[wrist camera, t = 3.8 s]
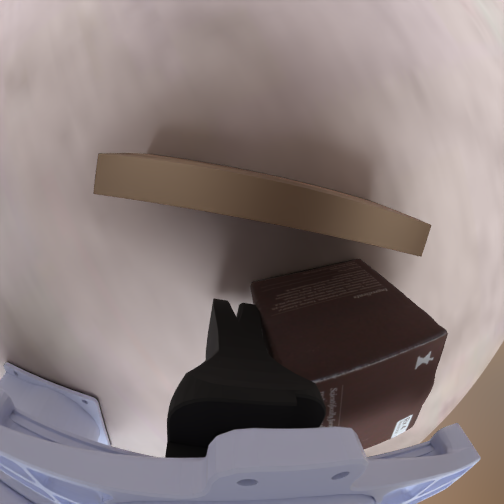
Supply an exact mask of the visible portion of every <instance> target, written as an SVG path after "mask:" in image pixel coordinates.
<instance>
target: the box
mask: <svg viewBox="0 0 504 504" xmlns="http://www.w3.org/2000/svg"><path fill="white" fill-rule="evenodd" d="M251 292H252V299H253V304H254V305H256V307H257V308H258V310H259V312H260V319H261V328H262V336H263V340H264V343H265V346H266V348H267V351H268V353H269V355H270V357H271V358H273V359H274V360H275V361H276V362H278V363H279V364H281V365H282V366H284V367H285V368H287V369H289V370H290V371H292V372H294V373H295V374H297V375H299V376H301V377H303V378H306V379H308V380H310V381H312V382H314V383H316V385H317V388H318V389H319V391H320V393H321V396H322V398H323V401H324V404H325V406H326V416H325V418H324V421H323V422H322V424H321V425H320V427H319V428H321V427H346V428H352V429H353V430H354V431H355V432H356V434H357V435H358V438H359V440H360V442H361V445H362V447H363V450H364V449H366V448H369V447H372V446H374V445H377V444H379V443H381V442H384V441H386V440H388V439H391V438H393V437H395V436H397V435H399V434H401V433H403V432H404V431H406V430H408V429H410V428H411V427H412V426H413V425H414V424H415V421H416V419H417V417H418V415H419V412H420V410H421V407H422V405H423V403H424V402H425V400H426V398H427V397H428V395H429V393H430V392H431V389H432V387H433V384H434V379H435V373H436V369H437V366H438V363H439V360H440V357H441V354H442V351H443V348H444V344H445V341H446V338H447V331H446V330H445V329H444V328H443V327H441V326H440V325H438V324H437V323H436V322H435V321H434V319H432V318H431V317H430V316H429V315H428V314H427V313H426V312H425V311H424V310H422V309H421V308H419V307H418V306H417V305H416V304H415V303H414V302H412V301H411V300H410V299H409V298H407V297H406V296H405V295H404V294H403V293H402V292H400V291H399V290H398V289H397V288H396V287H394V286H393V285H392V284H391V283H389V282H388V281H387V280H386V279H385V278H384V277H382V276H381V275H380V274H378V273H377V272H376V271H375V270H373V269H372V268H371V267H370V266H368V265H367V264H366V263H365V262H363V261H362V260H361V259H355V260H352V261H347V262H343V263H338V264H334V265H330V266H326V267H321V268H316V269H312V270H308V271H303V272H298V273H294V274H289V275H285V276H280V277H275V278H270V279H266V280H261V281H256V282H252V283H251Z"/></svg>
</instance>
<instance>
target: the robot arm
mask: <svg viewBox="0 0 504 504" xmlns="http://www.w3.org/2000/svg"><path fill="white" fill-rule="evenodd" d="M4 368H5V370H6V373H5V375H4V376H3V377H2V379H1V380H0V504H416V503H419V502H420V501H423V500H425V499H427V498H429V497H431V496H433V495H435V494H437V493H439V492H441V491H443V490H444V489H446V488H447V487H449V486H450V485H451V484H452V483H453V482H455V481H456V480H457V479H459V478H460V477H461V476H462V475H463V474H465V473H466V472H467V471H468V470H469V469H470V468H471V467H473V466H474V465H475V464H476V463H477V462H478V461H479V460H480V456H479V454H478V453H477V451H476V450H475V448H474V447H473V445H472V443H471V442H470V440H469V439H468V437H467V436H466V434H465V433H464V431H463V430H462V428H461V427H460V425H459V424H458V423H455V424H452V425H449V426H447V427H444V428H442V429H440V430H439V431H437V432H436V433H435V434H434V435H433V437H432V438H431V439H430V441H427V442H424V443H421V444H417V445H414V446H411V447H407V448H404V449H400V450H396V451H392V452H388V453H384V454H380V455H375V456H370V457H366V455H365V452H364V450H363V447H362V445H361V442H360V440H359V438H358V435H357V434H356V432H355V431H354V430H353V429H352V428H346V427H321V428H319V427H320V425H321V424H322V422H323V421H324V418H325V416H326V406H325V404H324V401H323V398H322V396H321V393H320V391H319V389H318V388H317V385H316V383H314V382H312V381H310V380H308V379H306V378H303V377H301V376H299V375H297V374H295V373H294V372H292V371H290V370H289V369H287V368H285V367H284V366H282V365H281V364H279V363H278V362H276V361H275V360H274V359H273V358H271V357H270V355H269V353H268V351H267V348H266V346H265V343H264V340H263V336H262V328H261V319H260V312H259V310H258V308H257V307H256V305H254V304H247V303H241V304H240V305H239V308H238V313H237V317H236V315H235V314H234V312H233V310H232V308H231V306H230V303H229V302H228V301H226V300H220V299H213V306H212V312H211V318H210V324H209V331H208V338H207V347H206V361H205V362H203V363H202V364H201V365H199V366H198V367H196V368H195V369H193V370H191V371H190V372H188V373H186V374H185V376H184V378H183V379H182V381H181V382H180V384H179V386H178V387H177V389H176V391H175V393H174V395H173V397H172V400H171V402H170V406H169V411H168V418H167V439H168V442H167V449H166V456H165V458H162V457H153V456H149V455H144V454H139V453H135V452H131V451H127V450H123V449H120V448H116V447H112V446H111V445H110V442H109V439H108V435H107V432H106V429H105V425H104V422H103V418H102V415H101V411H100V407H99V403H98V401H97V400H96V399H95V398H94V397H91V396H88V395H85V394H82V393H79V392H76V391H74V390H71V389H68V388H65V387H63V386H60V385H57V384H55V383H52V382H50V381H47V380H45V379H43V378H40V377H38V376H36V375H33V374H31V373H29V372H27V371H24V370H22V369H20V368H18V367H16V366H14V365H12V364H10V363H8V362H6V363H5V364H4Z"/></svg>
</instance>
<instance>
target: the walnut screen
mask: <svg viewBox="0 0 504 504" xmlns="http://www.w3.org/2000/svg"><path fill="white" fill-rule="evenodd" d="M94 194H98V195H106V196H112V197H119V198H126V199H133V200H139V201H146V202H152V203H158V204H165V205H171V206H177V207H183V208H189V209H194V210H200V211H206V212H212V213H217V214H223V215H228V216H234V217H239V218H245V219H250V220H255V221H260V222H266V223H271V224H276V225H281V226H286V227H291V228H296V229H301V230H305V231H310V232H315V233H320V234H325V235H329V236H334V237H339V238H343V239H348V240H352V241H357V242H361V243H366V244H370V245H374V246H379V247H383V248H387V249H392V250H396V251H400V252H404V253H408V254H412V255H417V256H422V253H423V250H424V247H425V244H426V241H427V237H428V234H429V231H430V228H431V225H430V224H428V223H425V222H423V221H421V220H418V219H416V218H413V217H411V216H408V215H406V214H403V213H401V212H398V211H396V210H393V209H391V208H388V207H385V206H383V205H380V204H377V203H375V202H372V201H369V200H366V199H362V198H359V197H355V196H352V195H348V194H345V193H341V192H338V191H334V190H330V189H326V188H323V187H319V186H315V185H311V184H307V183H303V182H299V181H295V180H290V179H286V178H282V177H277V176H273V175H268V174H264V173H259V172H254V171H249V170H244V169H239V168H234V167H229V166H223V165H218V164H212V163H206V162H200V161H194V160H188V159H181V158H174V157H167V156H160V155H152V154H138V153H101V154H98V160H97V167H96V175H95V184H94Z"/></svg>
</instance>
